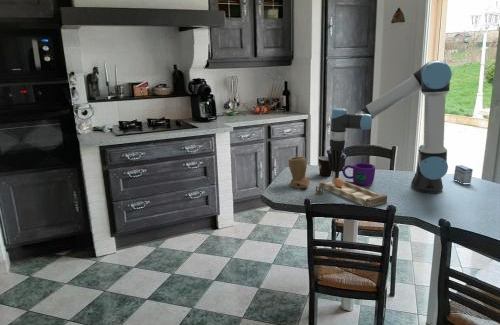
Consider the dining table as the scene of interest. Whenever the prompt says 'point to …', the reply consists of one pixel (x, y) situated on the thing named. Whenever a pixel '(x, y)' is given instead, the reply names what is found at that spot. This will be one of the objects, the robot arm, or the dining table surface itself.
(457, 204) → the dining table surface
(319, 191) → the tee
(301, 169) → the brown boot
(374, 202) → the wooden compartment tray
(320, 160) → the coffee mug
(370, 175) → the mug
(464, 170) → the medicine box
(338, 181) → the ball
